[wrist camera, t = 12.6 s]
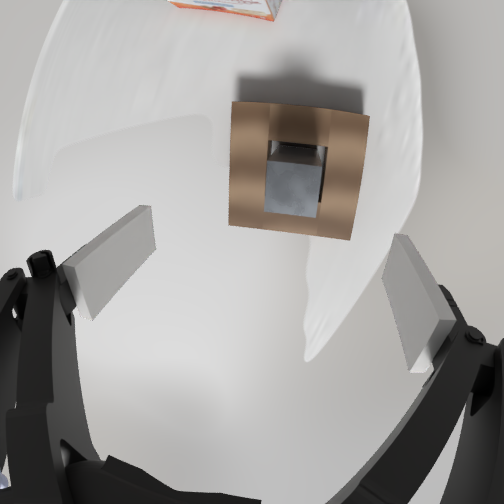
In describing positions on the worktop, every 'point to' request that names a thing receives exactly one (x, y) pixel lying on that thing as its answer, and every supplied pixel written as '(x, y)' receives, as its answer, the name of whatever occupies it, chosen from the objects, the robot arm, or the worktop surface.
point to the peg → (293, 181)
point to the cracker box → (235, 7)
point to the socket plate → (298, 131)
